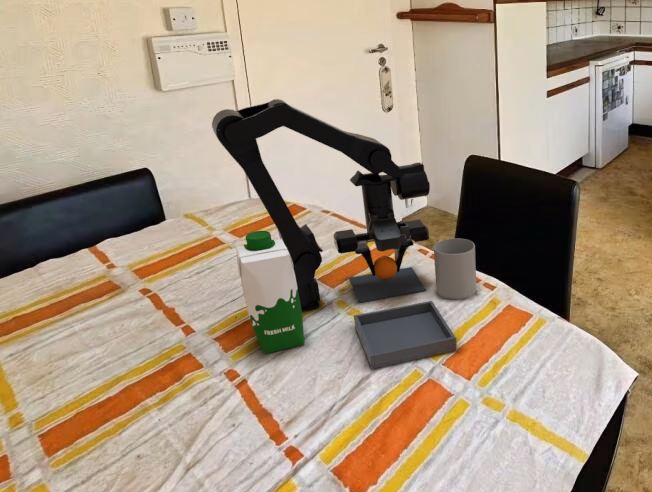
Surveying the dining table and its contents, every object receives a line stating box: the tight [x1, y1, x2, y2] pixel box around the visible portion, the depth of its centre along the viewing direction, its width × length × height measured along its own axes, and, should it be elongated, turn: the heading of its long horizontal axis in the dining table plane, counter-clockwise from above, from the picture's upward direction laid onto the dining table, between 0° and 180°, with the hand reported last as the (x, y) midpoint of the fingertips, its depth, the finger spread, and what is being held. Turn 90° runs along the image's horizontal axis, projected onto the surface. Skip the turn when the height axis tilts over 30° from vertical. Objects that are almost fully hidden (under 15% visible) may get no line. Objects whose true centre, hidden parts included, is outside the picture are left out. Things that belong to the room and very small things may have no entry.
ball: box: [373, 255, 397, 280], centre depth 132 cm, size 5×5×5 cm
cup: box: [433, 237, 477, 300], centre depth 129 cm, size 8×8×10 cm
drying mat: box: [349, 266, 427, 304], centre depth 134 cm, size 14×12×1 cm
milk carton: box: [235, 230, 305, 355], centre depth 109 cm, size 9×9×20 cm
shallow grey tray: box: [353, 300, 458, 370], centre depth 114 cm, size 15×15×3 cm
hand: (385, 273), depth 132 cm, fingers closed on ball, 5 cm apart
